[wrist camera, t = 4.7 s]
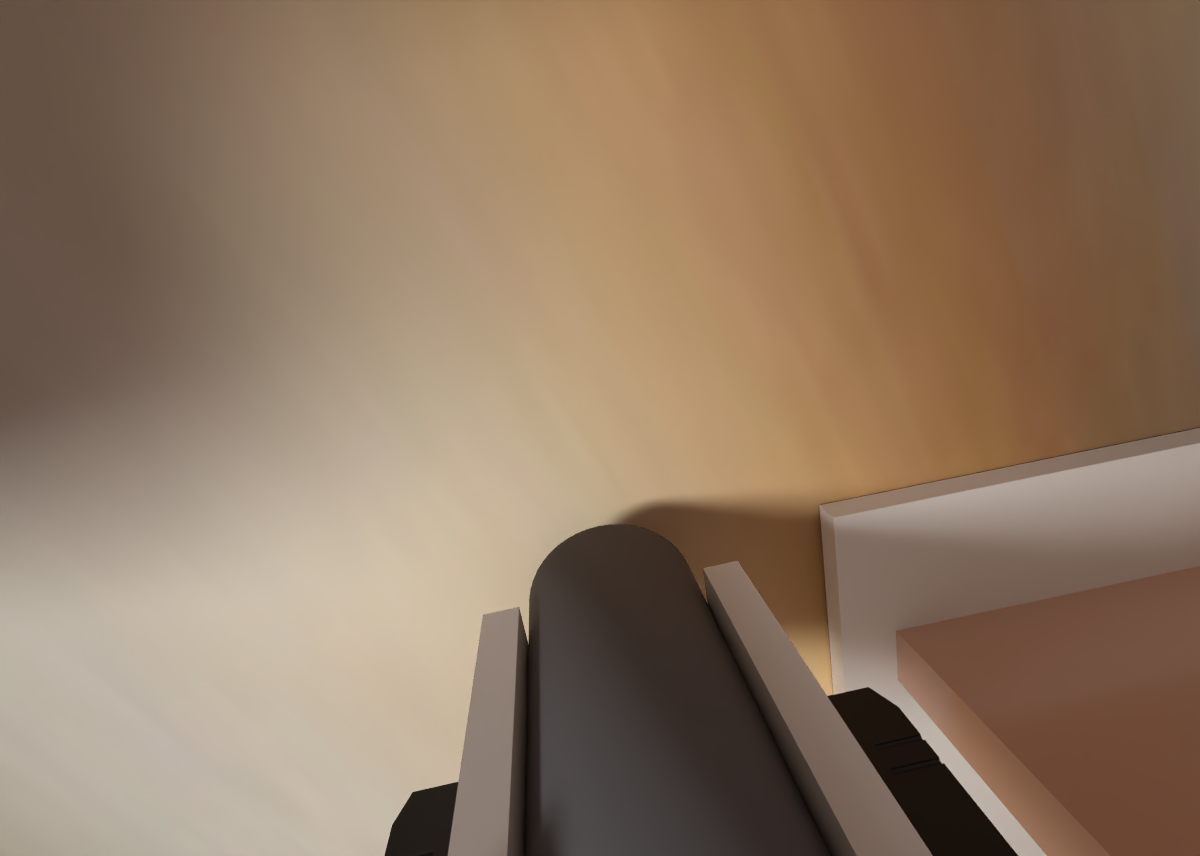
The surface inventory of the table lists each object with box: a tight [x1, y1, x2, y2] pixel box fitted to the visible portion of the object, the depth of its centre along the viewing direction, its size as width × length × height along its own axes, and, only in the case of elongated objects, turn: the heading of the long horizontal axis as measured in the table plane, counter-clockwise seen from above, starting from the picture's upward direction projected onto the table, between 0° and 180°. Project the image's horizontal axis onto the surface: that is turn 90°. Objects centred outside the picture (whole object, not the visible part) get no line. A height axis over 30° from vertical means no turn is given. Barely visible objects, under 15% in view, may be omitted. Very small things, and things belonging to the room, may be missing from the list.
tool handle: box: [525, 524, 831, 856], centre depth 8 cm, size 4×4×12 cm
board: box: [819, 428, 1200, 856], centre depth 19 cm, size 15×26×1 cm, turn 10°
